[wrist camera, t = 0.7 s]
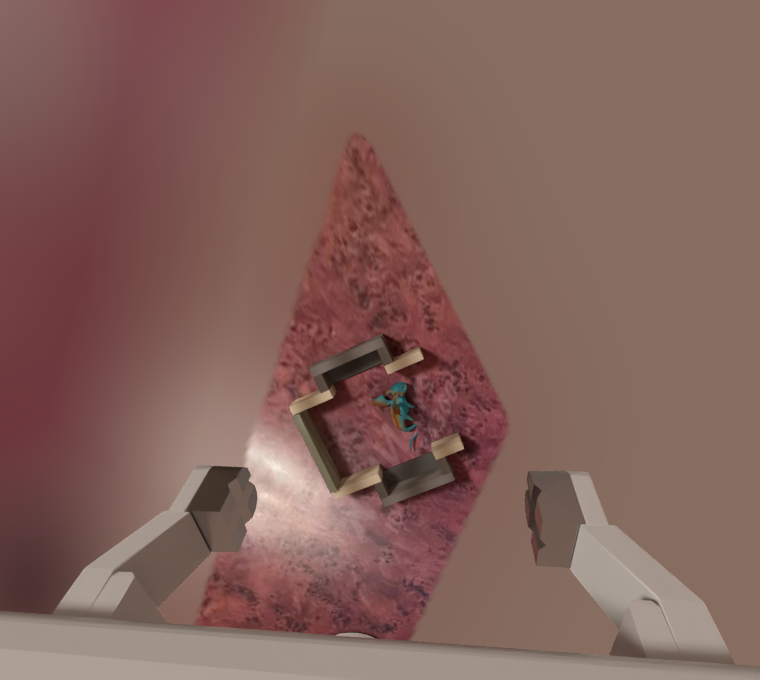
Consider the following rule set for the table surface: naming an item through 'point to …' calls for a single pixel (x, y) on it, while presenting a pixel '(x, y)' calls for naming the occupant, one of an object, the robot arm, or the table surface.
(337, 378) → the channel
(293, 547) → the table surface
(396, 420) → the dragon figurine
